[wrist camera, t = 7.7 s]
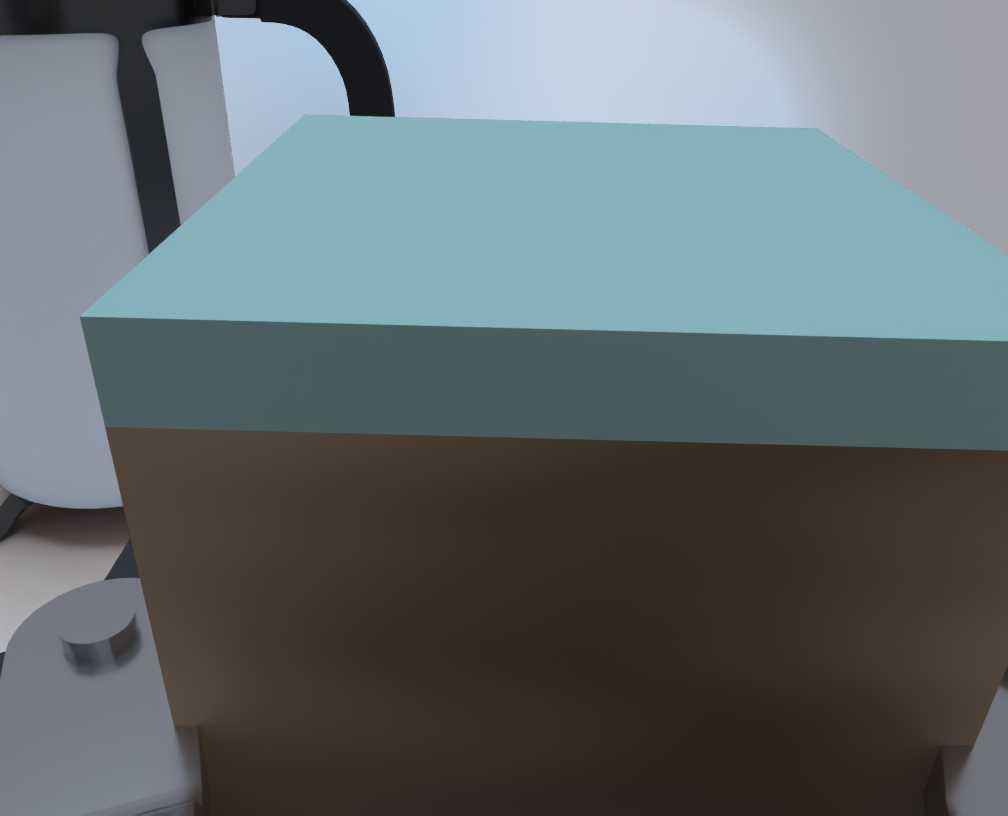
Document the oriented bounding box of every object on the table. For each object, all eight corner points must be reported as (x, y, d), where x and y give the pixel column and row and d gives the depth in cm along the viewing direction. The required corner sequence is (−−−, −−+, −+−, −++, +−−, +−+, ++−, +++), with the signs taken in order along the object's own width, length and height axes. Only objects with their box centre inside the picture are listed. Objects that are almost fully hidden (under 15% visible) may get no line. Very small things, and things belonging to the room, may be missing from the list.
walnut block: (286, 1216, 9) (79, 316, 4) (361, 792, 13) (304, 114, 8) (771, 1227, 9) (1140, 344, 4) (687, 800, 13) (816, 128, 8)
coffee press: (43, 646, 31) (-342, -558, 16) (-89, 468, 40) (-402, -380, 26) (420, 463, 41) (392, -353, 27) (244, 358, 51) (154, -282, 37)
